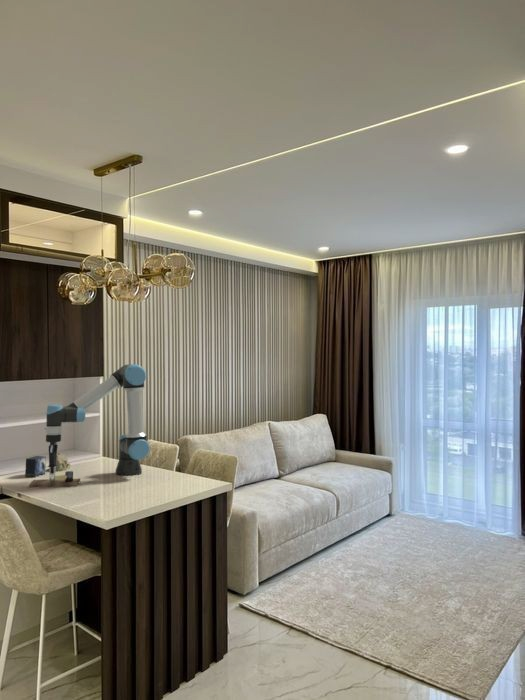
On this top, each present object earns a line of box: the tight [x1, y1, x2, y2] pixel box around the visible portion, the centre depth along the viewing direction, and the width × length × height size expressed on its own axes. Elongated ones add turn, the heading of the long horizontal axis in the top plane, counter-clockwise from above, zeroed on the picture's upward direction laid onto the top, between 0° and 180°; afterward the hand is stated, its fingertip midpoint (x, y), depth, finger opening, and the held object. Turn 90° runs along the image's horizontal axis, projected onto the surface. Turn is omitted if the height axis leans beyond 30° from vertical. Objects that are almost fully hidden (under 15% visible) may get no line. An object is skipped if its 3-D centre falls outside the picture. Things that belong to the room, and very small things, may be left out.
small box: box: [24, 455, 47, 478], centre depth 307 cm, size 11×6×10 cm, turn 168°
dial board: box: [27, 478, 81, 488], centre depth 285 cm, size 24×13×2 cm, turn 102°
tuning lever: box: [49, 470, 74, 482], centre depth 283 cm, size 12×4×5 cm, turn 132°
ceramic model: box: [47, 452, 71, 472], centre depth 327 cm, size 14×11×10 cm
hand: (52, 478), depth 283 cm, fingers closed
